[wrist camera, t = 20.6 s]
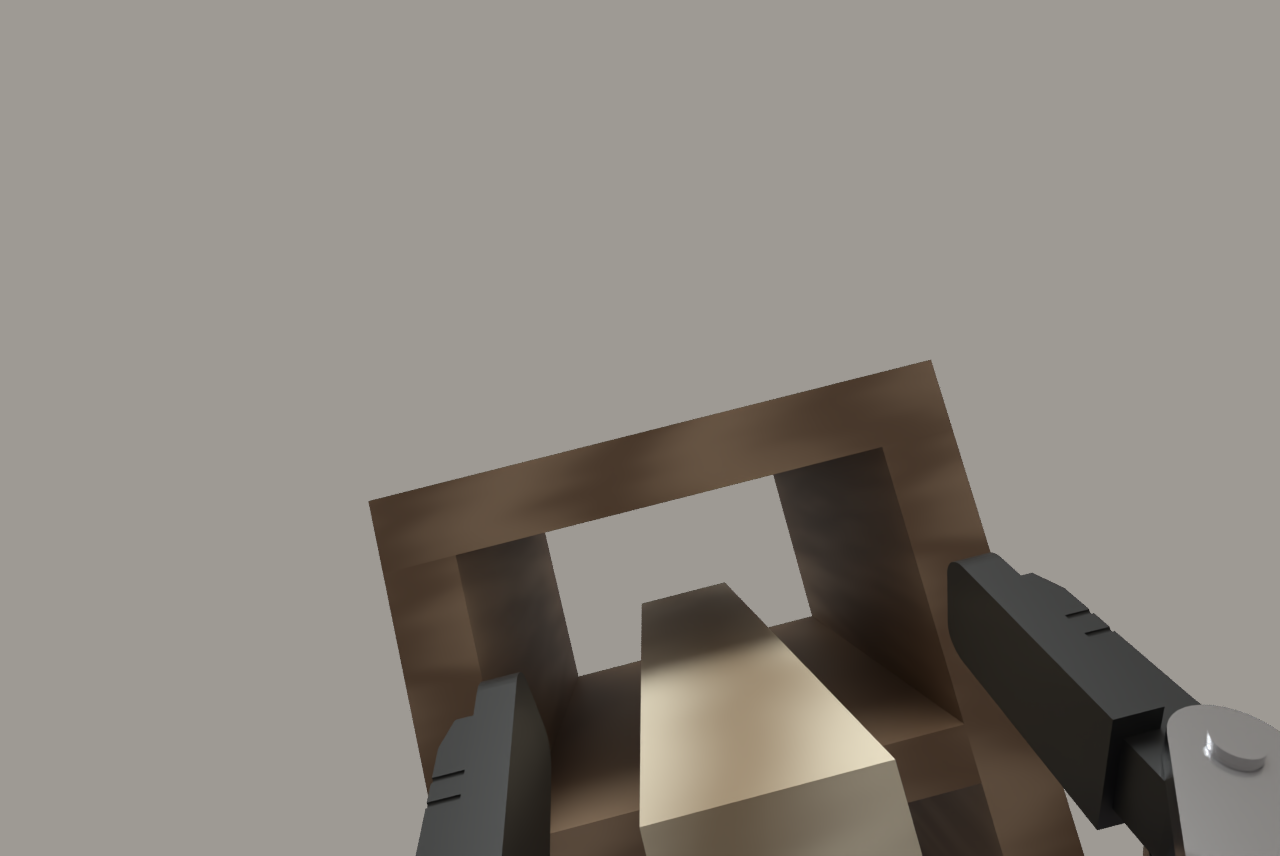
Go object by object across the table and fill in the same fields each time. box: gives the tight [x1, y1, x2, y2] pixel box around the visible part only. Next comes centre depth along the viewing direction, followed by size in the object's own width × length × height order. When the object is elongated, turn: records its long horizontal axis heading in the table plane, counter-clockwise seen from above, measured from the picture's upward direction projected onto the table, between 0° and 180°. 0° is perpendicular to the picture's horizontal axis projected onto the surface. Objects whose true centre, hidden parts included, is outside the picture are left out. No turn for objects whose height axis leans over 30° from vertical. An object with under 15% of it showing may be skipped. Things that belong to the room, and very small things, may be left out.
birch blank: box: [640, 583, 922, 856], centre depth 19 cm, size 4×20×3 cm, turn 1°
